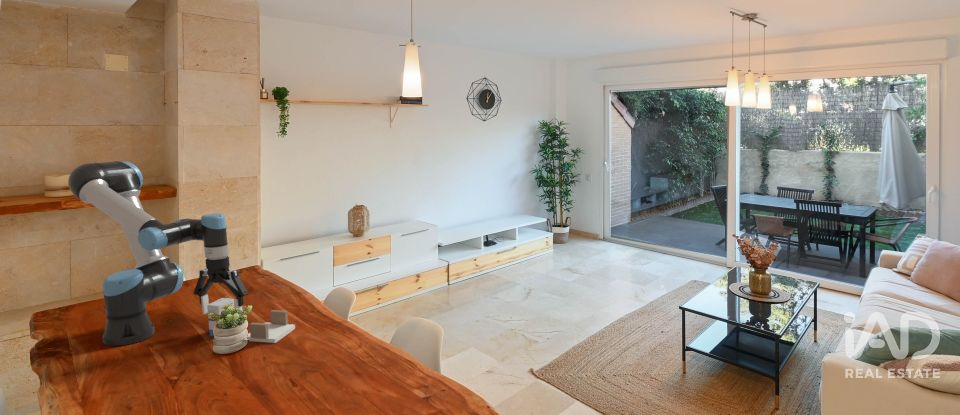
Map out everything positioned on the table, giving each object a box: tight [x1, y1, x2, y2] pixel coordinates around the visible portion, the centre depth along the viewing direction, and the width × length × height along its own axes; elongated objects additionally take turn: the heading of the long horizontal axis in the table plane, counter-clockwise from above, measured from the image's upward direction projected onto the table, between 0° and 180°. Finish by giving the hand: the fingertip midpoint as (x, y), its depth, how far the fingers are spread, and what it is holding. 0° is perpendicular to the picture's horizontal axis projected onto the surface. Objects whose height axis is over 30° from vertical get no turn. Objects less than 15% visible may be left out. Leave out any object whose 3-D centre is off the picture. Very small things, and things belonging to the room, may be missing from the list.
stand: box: [247, 309, 296, 344], centre depth 180 cm, size 12×14×6 cm
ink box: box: [207, 297, 235, 337], centre depth 181 cm, size 8×5×12 cm, turn 168°
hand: (222, 313), depth 181 cm, fingers open, 13 cm apart
